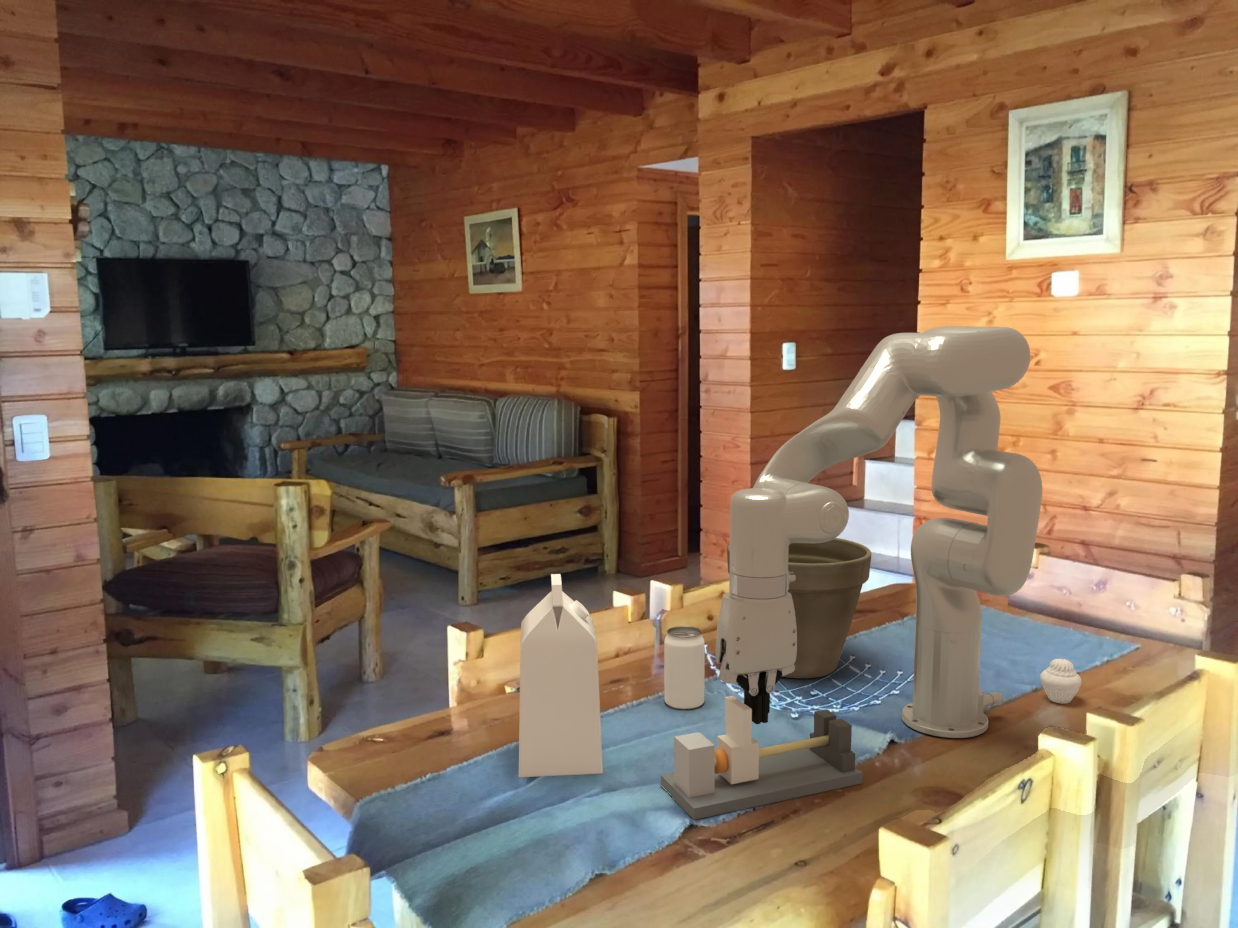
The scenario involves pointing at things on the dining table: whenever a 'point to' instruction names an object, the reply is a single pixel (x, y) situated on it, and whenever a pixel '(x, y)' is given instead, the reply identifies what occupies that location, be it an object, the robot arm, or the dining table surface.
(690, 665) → the can
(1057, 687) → the muffin
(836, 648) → the plant pot
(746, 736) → the sleeve
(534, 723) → the milk
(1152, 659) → the dining table surface
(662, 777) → the slider mechanism
